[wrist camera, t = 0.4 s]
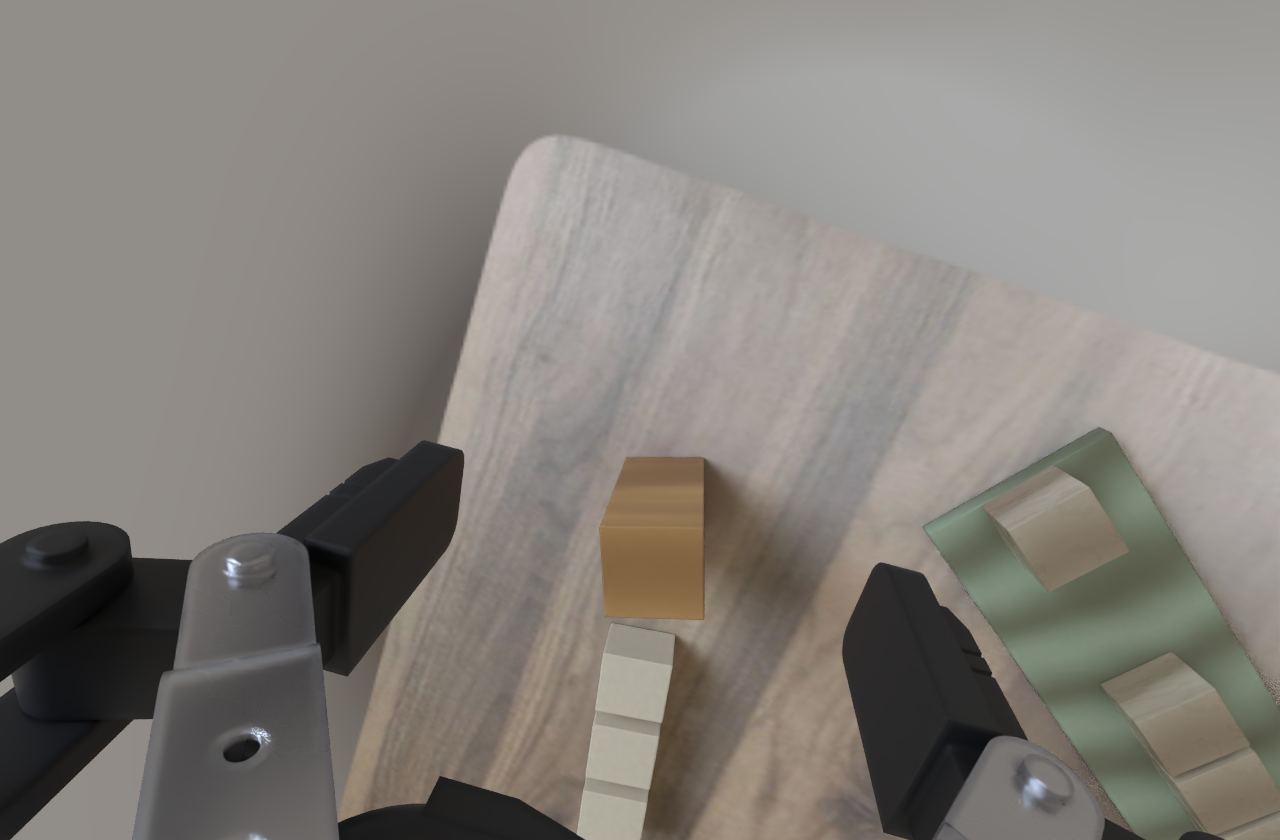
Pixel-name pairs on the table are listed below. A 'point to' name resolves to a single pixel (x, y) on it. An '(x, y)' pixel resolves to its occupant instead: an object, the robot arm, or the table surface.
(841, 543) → the table surface
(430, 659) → the table surface
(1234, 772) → the green block tray
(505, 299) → the table surface
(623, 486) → the brown wooden tall block
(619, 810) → the set of cream blocks
